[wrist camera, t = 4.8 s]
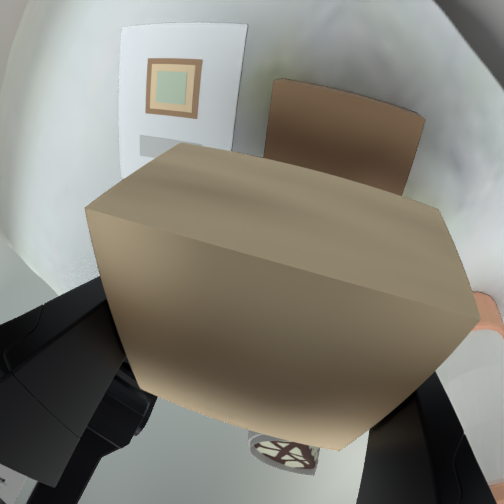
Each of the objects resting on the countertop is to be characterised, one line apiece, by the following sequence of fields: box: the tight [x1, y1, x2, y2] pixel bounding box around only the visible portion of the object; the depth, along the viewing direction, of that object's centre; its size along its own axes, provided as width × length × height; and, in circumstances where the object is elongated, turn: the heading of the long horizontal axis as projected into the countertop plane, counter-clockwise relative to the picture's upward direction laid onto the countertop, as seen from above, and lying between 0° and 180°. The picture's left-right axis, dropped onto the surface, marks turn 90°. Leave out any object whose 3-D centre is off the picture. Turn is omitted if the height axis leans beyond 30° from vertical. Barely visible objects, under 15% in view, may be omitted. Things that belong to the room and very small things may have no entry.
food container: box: [248, 430, 320, 476], centre depth 27 cm, size 12×6×10 cm, turn 15°
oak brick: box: [85, 142, 481, 451], centre depth 7 cm, size 6×6×4 cm
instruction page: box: [118, 22, 248, 178], centre depth 18 cm, size 12×9×1 cm
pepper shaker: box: [436, 292, 504, 504], centre depth 14 cm, size 7×7×19 cm
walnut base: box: [263, 78, 425, 196], centre depth 17 cm, size 8×8×2 cm
